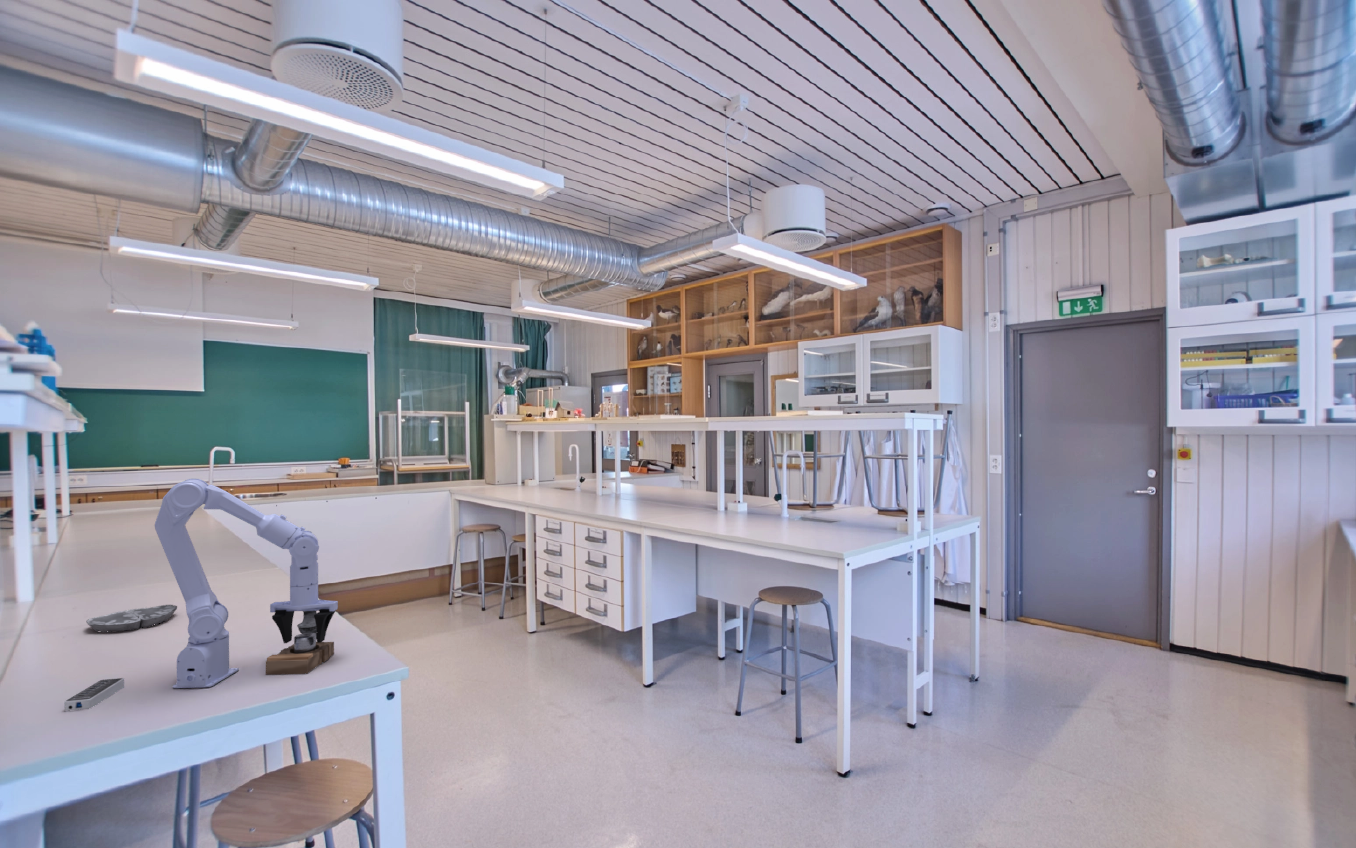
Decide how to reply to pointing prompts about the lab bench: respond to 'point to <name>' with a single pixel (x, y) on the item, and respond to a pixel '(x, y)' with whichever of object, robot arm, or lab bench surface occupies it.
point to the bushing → (304, 643)
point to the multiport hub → (94, 694)
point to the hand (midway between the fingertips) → (304, 641)
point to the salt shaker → (308, 623)
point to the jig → (298, 660)
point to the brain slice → (132, 618)
